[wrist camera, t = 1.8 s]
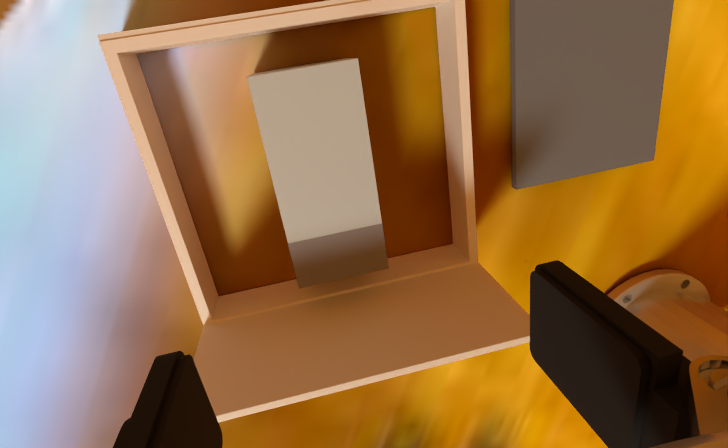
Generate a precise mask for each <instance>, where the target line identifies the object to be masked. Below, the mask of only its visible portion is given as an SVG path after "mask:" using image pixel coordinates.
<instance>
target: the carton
mask: <svg viewBox="0 0 728 448" xmlns="http://www.w3.org/2000/svg"><path fill="white" fill-rule="evenodd" d="M430 7H435V8H436V22H437V35H438V48H439V62H440V75H441V89H442V102H443V115H444V129H445V142H446V156H447V169H448V182H449V196H450V209H451V223H452V236H453V244H450V245H445V246H441V247H437V248H432V249H428V250H423V251H419V252H414V253H410V254H405V255H401V256H397V257H392V258H388V266H389V268H388V269H384V270H379V271H375V272H371V273H366V274H362V275H357V276H353V277H349V278H344V279H340V280H335V281H331V282H327V283H322V284H318V285H313V286H309V287H305V288H300V289H299V287H298V283H297V279H294V280H290V281H285V282H281V283H276V284H272V285H268V286H263V287H259V288H254V289H250V290H245V291H241V292H236V293H232V294H228V295H223V296H218V293H217V290H216V287H215V284H214V281H213V278H212V276H211V273H210V270H209V267H208V264H207V261H206V258H205V255H204V252H203V249H202V246H201V243H200V240H199V237H198V234H197V231H196V228H195V225H194V223H193V220H192V217H191V214H190V211H189V208H188V205H187V202H186V199H185V196H184V193H183V190H182V187H181V184H180V181H179V178H178V175H177V172H176V170H175V167H174V164H173V161H172V158H171V155H170V152H169V149H168V146H167V143H166V140H165V137H164V134H163V131H162V128H161V125H160V122H159V119H158V117H157V114H156V111H155V108H154V105H153V102H152V99H151V96H150V93H149V90H148V87H147V84H146V81H145V78H144V75H143V72H142V69H141V66H140V64H139V61H138V58H137V55H136V54H138V53H144V52H151V51H157V50H163V49H170V48H176V47H182V46H189V45H195V44H201V43H208V42H214V41H220V40H227V39H233V38H240V37H246V36H252V35H259V34H265V33H271V32H278V31H284V30H290V29H297V28H303V27H309V26H316V25H322V24H328V23H335V22H341V21H347V20H354V19H360V18H367V17H373V16H379V15H386V14H392V13H398V12H405V11H411V10H417V9H424V8H430ZM98 38H99V41H100V42H99V43H100V46H101V48H102V51H103V54H104V57H105V59H106V62H107V65H108V67H109V70H110V73H111V76H112V78H113V81H114V84H115V86H116V89H117V92H118V95H119V97H120V100H121V103H122V105H123V108H124V111H125V114H126V116H127V119H128V122H129V124H130V127H131V130H132V133H133V135H134V138H135V141H136V143H137V146H138V149H139V152H140V154H141V157H142V160H143V162H144V165H145V168H146V171H147V173H148V176H149V179H150V181H151V184H152V187H153V190H154V192H155V195H156V198H157V200H158V203H159V206H160V209H161V211H162V214H163V217H164V219H165V222H166V225H167V228H168V230H169V233H170V236H171V238H172V241H173V244H174V247H175V249H176V252H177V255H178V258H179V260H180V263H181V266H182V268H183V271H184V274H185V277H186V279H187V282H188V285H189V287H190V290H191V293H192V296H193V298H194V301H195V304H196V306H197V309H198V312H199V315H200V317H201V320H202V323H203V325H204V326H203V330H202V333H201V337H200V340H199V344H198V347H197V351H196V354H195V358H194V363H195V366H196V368H197V371H198V373H199V376H200V378H201V381H202V383H203V386H204V388H205V391H206V393H207V396H208V398H209V401H210V403H211V406H212V408H213V411H214V413H215V416H216V418H217V421H218V422H222V421H226V420H230V419H234V418H238V417H241V416H245V415H249V414H253V413H257V412H261V411H265V410H269V409H272V408H276V407H280V406H284V405H288V404H292V403H296V402H300V401H303V400H307V399H311V398H315V397H319V396H323V395H327V394H331V393H334V392H338V391H342V390H346V389H350V388H354V387H358V386H362V385H365V384H369V383H373V382H377V381H381V380H385V379H389V378H393V377H396V376H400V375H404V374H408V373H412V372H416V371H420V370H424V369H427V368H431V367H435V366H439V365H443V364H447V363H451V362H455V361H458V360H462V359H466V358H470V357H474V356H478V355H482V354H486V353H489V352H493V351H497V350H501V349H505V348H509V347H513V346H517V345H520V344H524V343H528V342H530V316H529V314H528V313H527V312H526V311H525V310H524V309H523V308H522V307H521V306H520V305H519V304H518V303H517V302H516V301H515V300H514V299H513V298H512V297H511V296H510V295H509V294H508V293H507V292H506V291H505V290H504V289H503V288H502V287H501V286H500V284H499V283H498V282H497V281H496V280H495V279H494V278H493V277H492V276H491V275H490V274H489V273H488V272H487V271H486V270H485V269H484V268H483V267H482V266H481V265H480V264H479V263H478V252H477V232H476V212H475V192H474V171H473V151H472V131H471V111H470V90H469V70H468V50H467V30H466V9H465V0H327V1H321V2H314V3H307V4H301V5H294V6H288V7H281V8H274V9H268V10H261V11H255V12H248V13H241V14H235V15H228V16H221V17H215V18H208V19H202V20H195V21H188V22H182V23H175V24H169V25H162V26H155V27H149V28H142V29H135V30H129V31H122V32H116V33H109V34H102V35H98Z"/></svg>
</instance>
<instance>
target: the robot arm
mask: <svg viewBox="0 0 728 448" xmlns="http://www.w3.org/2000/svg"><path fill="white" fill-rule="evenodd" d="M530 351H531V354H532V357H533V358H534V360H535V361H536V363H537V364H538V365H539V366H540V367H541V368H542V370H543V371H544V372H545V373H546V374H547V376H548V377H549V378H550V379H551V380H552V381H553V383H554V384H555V385H556V386H557V387H558V389H559V390H560V391H561V392H562V393H563V394H564V396H565V397H566V398H567V399H568V400H569V402H570V403H571V404H572V405H573V406H574V408H575V409H576V410H577V411H578V412H579V413H580V415H581V416H582V417H583V418H584V419H585V421H586V422H587V423H588V424H589V425H590V426H591V428H592V429H593V430H594V431H595V432H596V434H597V435H598V436H599V437H600V438H601V439H602V441H603V442H604V443H605V444H606V445H607V447H608V448H728V311H726V310H724V309H722V308H721V307H719V306H717V305H715V304H714V303H712V302H711V297H710V295H709V293H708V291H707V288H706V287H705V286H704V285H703V284H702V283H701V282H700V281H699V280H697V279H695V278H694V277H692V276H690V275H688V274H686V273H684V272H681V271H679V270H673V269H658V270H653V271H649V272H645V273H642V274H640V275H637V276H635V277H632V278H630V279H629V280H627V281H625V282H624V283H622V284H620V285H619V286H617V287H616V288H615V289H614V290H612V291H611V292H610V293H609V294H607V295H606V294H604V293H603V292H602V291H600V290H599V289H598V288H596V287H595V286H593V285H592V284H591V283H589V282H588V281H587V280H585V279H584V278H582V277H581V276H580V275H578V274H577V273H576V272H574V271H573V270H571V269H570V268H569V267H567V266H566V265H564V264H563V263H562V262H560V261H552V262H548V263H544V264H539V265H537V266H536V268H535V271H533V272H532V273H531V276H530ZM113 448H222V432H221V428H220V426H219V423H218V421H217V418H216V416H215V413H214V411H213V408H212V406H211V403H210V401H209V398H208V396H207V393H206V391H205V388H204V386H203V383H202V381H201V378H200V376H199V373H198V371H197V368H196V366H195V363H194V361H193V358H192V356H191V355H184V354H183V352H182V351H177V352H173V353H169V354H165V355H160V356H157V357H156V358H155V360H154V362H153V364H152V367H151V369H150V372H149V374H148V377H147V379H146V382H145V384H144V387H143V389H142V391H141V394H140V396H139V399H138V401H137V404H136V406H135V409H134V411H133V413H132V416H131V418H129V419H128V420H126V421H125V422H124V424H123V426H122V427H121V430H120V432H119V434H118V437H117V439H116V441H115V444H114V446H113Z"/></svg>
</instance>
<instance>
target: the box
mask: <svg viewBox="0 0 728 448" xmlns="http://www.w3.org/2000/svg"><path fill="white" fill-rule="evenodd" d="M247 81H248V85H249V89H250V93H251V97H252V101H253V105H254V109H255V113H256V117H257V121H258V125H259V129H260V133H261V137H262V141H263V145H264V149H265V153H266V157H267V161H268V165H269V169H270V173H271V177H272V181H273V185H274V190H275V194H276V198H277V202H278V206H279V210H280V214H281V218H282V222H283V226H284V230H285V234H286V238H287V242H288V247H289V251H290V255H291V259H292V263H293V267H294V271H295V275H296V279H297V283H298V287H299V289H300V288H305V287H309V286H313V285H318V284H322V283H327V282H331V281H335V280H340V279H344V278H349V277H353V276H357V275H362V274H366V273H371V272H375V271H379V270H384V269H388V268H389V266H388V259H387V252H386V245H385V239H384V232H383V225H382V219H381V213H380V206H379V199H378V192H377V185H376V178H375V172H374V165H373V158H372V151H371V144H370V137H369V130H368V124H367V117H366V110H365V103H364V96H363V89H362V83H361V76H360V69H359V62H358V58H343V59H337V60H331V61H325V62H319V63H313V64H307V65H301V66H295V67H289V68H283V69H277V70H271V71H265V72H259V73H253V74H251V75H249V76H248V77H247Z"/></svg>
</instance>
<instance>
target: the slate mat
mask: <svg viewBox="0 0 728 448" xmlns="http://www.w3.org/2000/svg"><path fill="white" fill-rule="evenodd" d="M673 2H674V0H510V40H511V125H512V187H513V188H515V189H521V188H526V187H530V186H535V185H540V184H544V183H549V182H554V181H558V180H563V179H568V178H573V177H577V176H582V175H587V174H591V173H596V172H601V171H605V170H610V169H615V168H619V167H624V166H629V165H633V164H638V163H643V162H648V161H652V160H654V154H655V146H656V138H657V130H658V122H659V114H660V106H661V98H662V90H663V82H664V74H665V66H666V58H667V50H668V42H669V34H670V26H671V18H672V10H673Z"/></svg>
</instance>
